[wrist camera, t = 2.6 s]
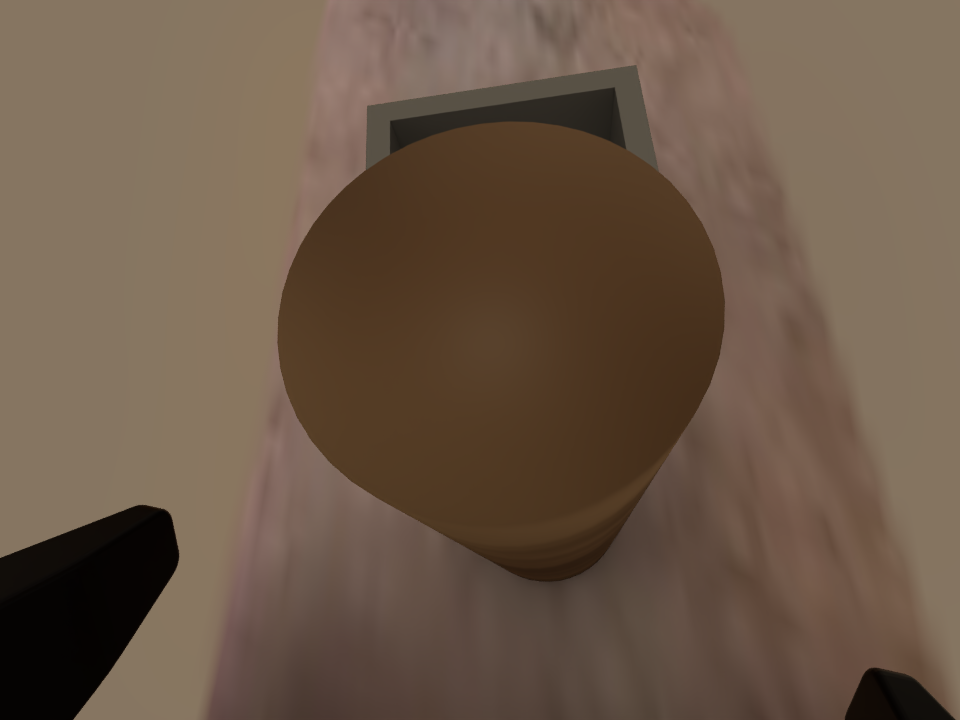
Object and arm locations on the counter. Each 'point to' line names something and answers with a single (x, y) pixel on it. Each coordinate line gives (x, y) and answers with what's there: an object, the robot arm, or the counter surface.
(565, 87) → the socket cup
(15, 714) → the robot arm
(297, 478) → the counter surface
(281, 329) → the walnut peg
